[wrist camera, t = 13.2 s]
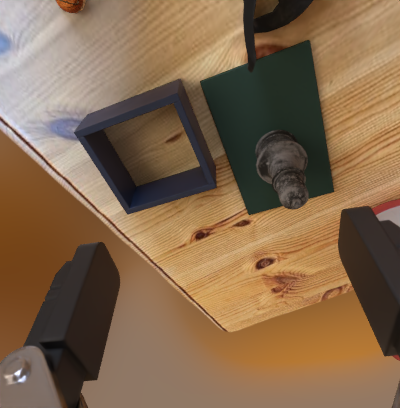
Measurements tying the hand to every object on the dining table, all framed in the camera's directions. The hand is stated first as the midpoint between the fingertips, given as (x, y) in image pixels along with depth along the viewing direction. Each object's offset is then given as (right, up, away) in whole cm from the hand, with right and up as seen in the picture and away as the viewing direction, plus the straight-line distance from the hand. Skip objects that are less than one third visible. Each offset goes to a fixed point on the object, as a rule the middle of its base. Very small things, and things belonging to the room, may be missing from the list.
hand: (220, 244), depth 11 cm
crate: (-6, +9, +30) cm, 32 cm away
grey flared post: (+9, +8, +30) cm, 32 cm away
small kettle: (-13, +22, +21) cm, 33 cm away
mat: (+8, +9, +30) cm, 32 cm away
